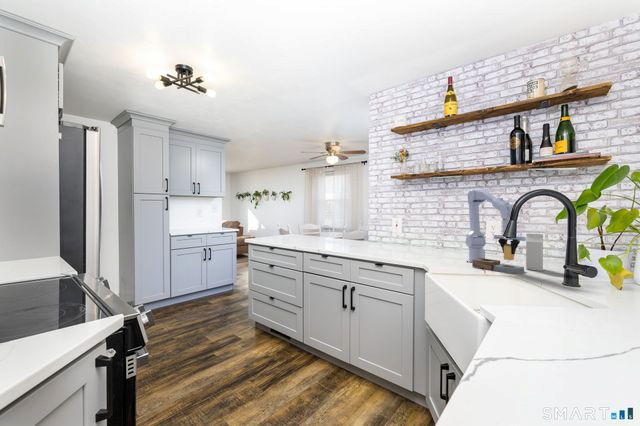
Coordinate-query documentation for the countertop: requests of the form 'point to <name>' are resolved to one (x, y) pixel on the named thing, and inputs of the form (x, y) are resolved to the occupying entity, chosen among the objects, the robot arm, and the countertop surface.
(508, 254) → the plug
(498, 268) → the lower jack
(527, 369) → the countertop surface
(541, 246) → the milk carton
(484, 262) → the upper jack
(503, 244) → the robot arm
